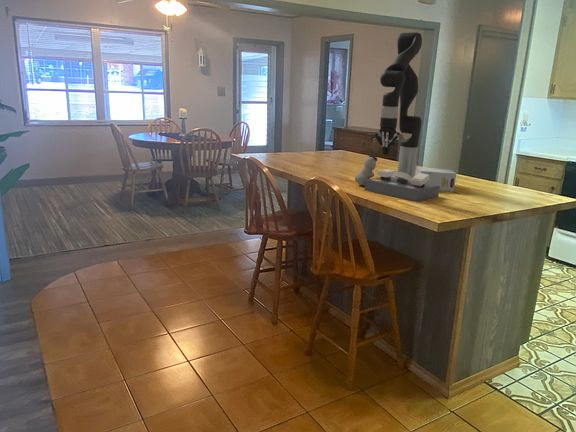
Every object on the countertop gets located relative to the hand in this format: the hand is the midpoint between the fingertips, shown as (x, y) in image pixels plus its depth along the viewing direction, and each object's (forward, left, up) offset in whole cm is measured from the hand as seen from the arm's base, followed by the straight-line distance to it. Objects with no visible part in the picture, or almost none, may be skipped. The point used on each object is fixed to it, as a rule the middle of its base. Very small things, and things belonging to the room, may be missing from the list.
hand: (385, 154), depth 212 cm
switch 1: (-2, 0, -10) cm, 10 cm away
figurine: (-2, -12, -17) cm, 21 cm away
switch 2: (-2, +9, -10) cm, 13 cm away
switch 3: (-3, +18, -10) cm, 21 cm away
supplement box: (-28, +11, -17) cm, 35 cm away
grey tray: (-2, +9, -17) cm, 19 cm away
